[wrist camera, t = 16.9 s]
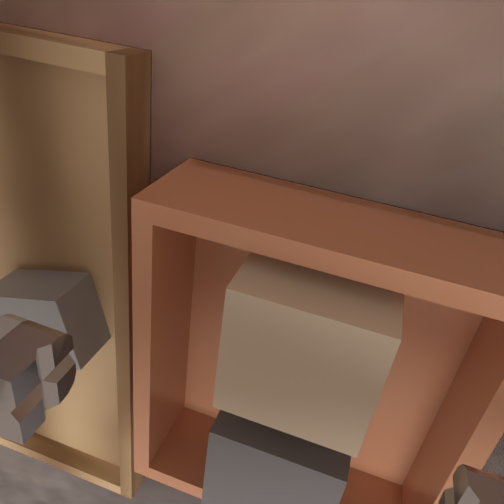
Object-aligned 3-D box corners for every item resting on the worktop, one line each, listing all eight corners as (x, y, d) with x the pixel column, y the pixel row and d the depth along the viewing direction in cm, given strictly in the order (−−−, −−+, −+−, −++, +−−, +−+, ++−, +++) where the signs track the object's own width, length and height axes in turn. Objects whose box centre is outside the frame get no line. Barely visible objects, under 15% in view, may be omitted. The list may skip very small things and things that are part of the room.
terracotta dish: (175, 403, 20) (134, 471, 17) (190, 157, 14) (131, 197, 12) (413, 489, 18) (411, 583, 15) (539, 241, 12) (575, 315, 9)
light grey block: (40, 329, 20) (6, 359, 18) (16, 268, 19) (-24, 295, 17) (111, 337, 19) (80, 369, 17) (90, 272, 17) (55, 301, 16)
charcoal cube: (240, 419, 19) (200, 511, 15) (252, 344, 17) (208, 431, 13) (338, 454, 18) (318, 559, 14) (363, 380, 16) (347, 482, 12)
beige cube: (256, 322, 16) (212, 406, 13) (273, 219, 14) (226, 288, 11) (371, 357, 15) (356, 458, 12) (406, 254, 13) (401, 339, 10)
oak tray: (-16, 408, 26) (-38, 428, 24) (-119, -1, 15) (-164, -1, 14) (146, 474, 23) (131, 499, 22) (151, 50, 13) (125, 55, 12)
